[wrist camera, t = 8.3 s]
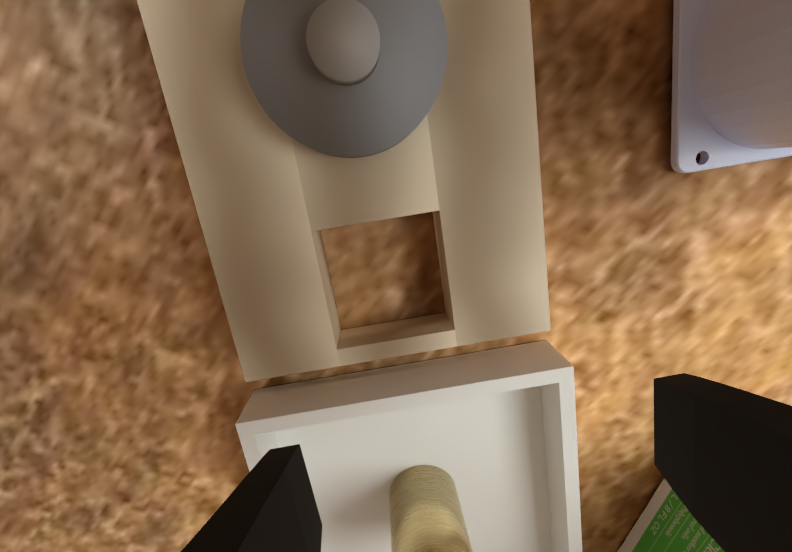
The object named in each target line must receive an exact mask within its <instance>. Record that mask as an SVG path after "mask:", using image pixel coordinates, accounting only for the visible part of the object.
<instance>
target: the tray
mask: <svg viewBox="0 0 792 552" xmlns="http://www.w3.org/2000/svg"><path fill="white" fill-rule="evenodd" d="M235 426H236V429H237V432H238V436H239V439H240V442H241V446H242V449H243V452H244V456H245V459H246V462H247V465H248V469H249V472H250V471H251V470H252V469H253V468H254V466H255V465H256V464H257V463H258V462H259V461H260V460H261V458H262V457H263V456H264V455H265V454H266V453H267V452H268V451H269V450H270V449H275V448H280V447H286V446H291V445H297V444H300V447H301V451H302V454H303V458H304V462H305V465H306V469H307V472H308V476H309V479H310V483H311V486H312V490H313V494H314V497H315V501H316V504H317V508H318V511H319V515H320V519H321V522H322V541H321V552H392V551H391V528H390V505H389V490H390V487H391V484H392V482H393V480H394V479H395V478H396V477H397V476H398V475H399V474H400V473H401V472H402V471H404V470H406V469H408V468H410V467H413V466H417V465H432V466H436V467H439V468H441V469H443V470H445V471H446V472H447V473H448V474H449V475H450V476H451V477H452V479H453V480H454V483H455V486H456V490H457V494H458V498H459V502H460V505H461V509H462V513H463V517H464V521H465V525H466V529H467V532H468V536H469V540H470V544H471V548H472V552H582V532H581V511H580V491H579V470H578V449H577V429H576V408H575V387H574V366H573V365H572V364H571V363H570V362H569V361H567V360H566V359H565V358H564V357H563V356H562V355H561V354H560V353H559V352H558V351H557V350H556V349H555V348H554V347H553V346H552V345H551V344H550V343H549V342H548V341H546V340H544V341H538V342H532V343H526V344H520V345H515V346H509V347H503V348H497V349H491V350H485V351H479V352H473V353H468V354H462V355H456V356H450V357H444V358H438V359H432V360H426V361H420V362H415V363H409V364H403V365H397V366H391V367H385V368H379V369H373V370H368V371H362V372H356V373H350V374H344V375H338V376H332V377H326V378H321V379H315V380H309V381H303V382H297V383H291V384H285V385H279V386H274V387H268V388H262V389H256V390H254V391H253V393H252V395H251V397H250V398H249V400H248V402H247V404H246V406H245V407H244V409H243V411H242V413H241V414H240V416H239V418H238V420H237V422H236V423H235Z"/></svg>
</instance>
